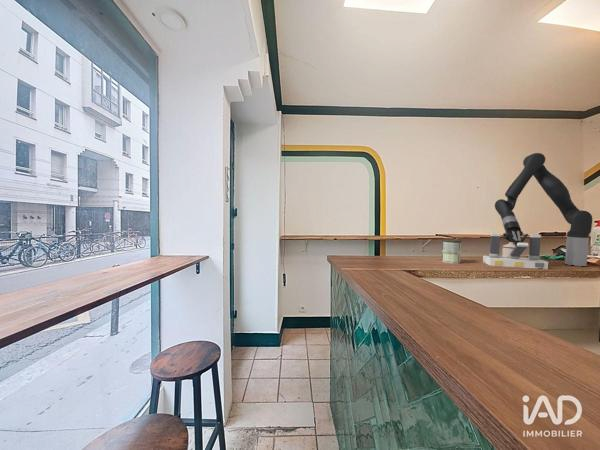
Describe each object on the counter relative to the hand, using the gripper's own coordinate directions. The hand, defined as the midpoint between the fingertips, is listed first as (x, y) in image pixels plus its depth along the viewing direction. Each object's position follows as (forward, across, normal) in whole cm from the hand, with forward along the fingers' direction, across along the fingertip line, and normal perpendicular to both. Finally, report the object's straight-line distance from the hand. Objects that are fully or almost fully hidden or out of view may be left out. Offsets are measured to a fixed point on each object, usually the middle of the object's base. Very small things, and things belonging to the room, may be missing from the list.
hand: (519, 247), depth 155 cm
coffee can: (+5, -34, +12) cm, 36 cm away
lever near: (+1, +10, +10) cm, 14 cm away
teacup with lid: (-12, +7, +29) cm, 32 cm away
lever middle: (0, 0, +10) cm, 10 cm away
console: (+4, 0, +13) cm, 13 cm away
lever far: (+1, -10, +10) cm, 14 cm away
